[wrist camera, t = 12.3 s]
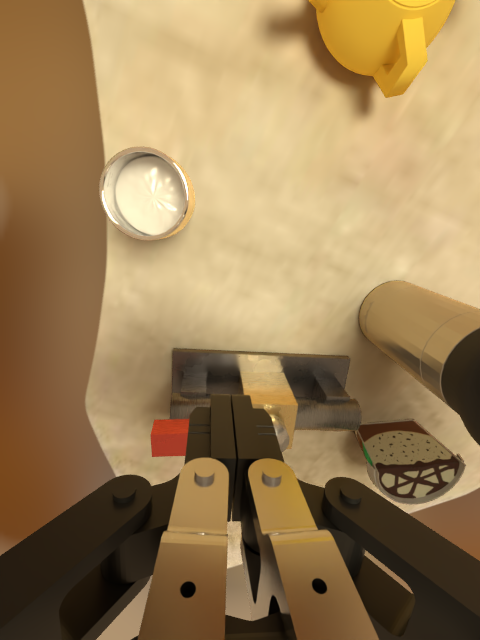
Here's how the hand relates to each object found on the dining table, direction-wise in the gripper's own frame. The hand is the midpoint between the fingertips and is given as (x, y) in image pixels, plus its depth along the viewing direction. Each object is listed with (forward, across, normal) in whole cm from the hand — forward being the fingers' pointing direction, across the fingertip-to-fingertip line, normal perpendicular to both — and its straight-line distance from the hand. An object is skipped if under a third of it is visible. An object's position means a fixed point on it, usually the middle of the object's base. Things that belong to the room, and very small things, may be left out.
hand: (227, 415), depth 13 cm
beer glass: (+31, +6, -8) cm, 33 cm away
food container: (+31, -27, +24) cm, 48 cm away
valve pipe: (+31, -7, +16) cm, 36 cm away
